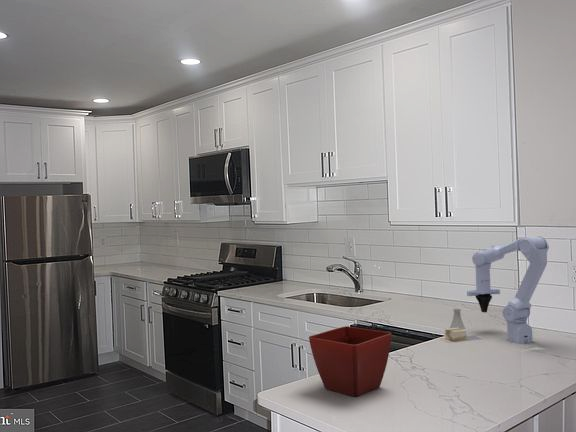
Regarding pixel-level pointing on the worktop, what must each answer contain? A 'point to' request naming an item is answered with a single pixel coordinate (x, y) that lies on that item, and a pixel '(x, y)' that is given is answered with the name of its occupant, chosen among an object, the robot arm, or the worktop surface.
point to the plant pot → (351, 358)
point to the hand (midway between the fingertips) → (484, 312)
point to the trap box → (469, 338)
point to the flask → (457, 320)
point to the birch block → (455, 334)
